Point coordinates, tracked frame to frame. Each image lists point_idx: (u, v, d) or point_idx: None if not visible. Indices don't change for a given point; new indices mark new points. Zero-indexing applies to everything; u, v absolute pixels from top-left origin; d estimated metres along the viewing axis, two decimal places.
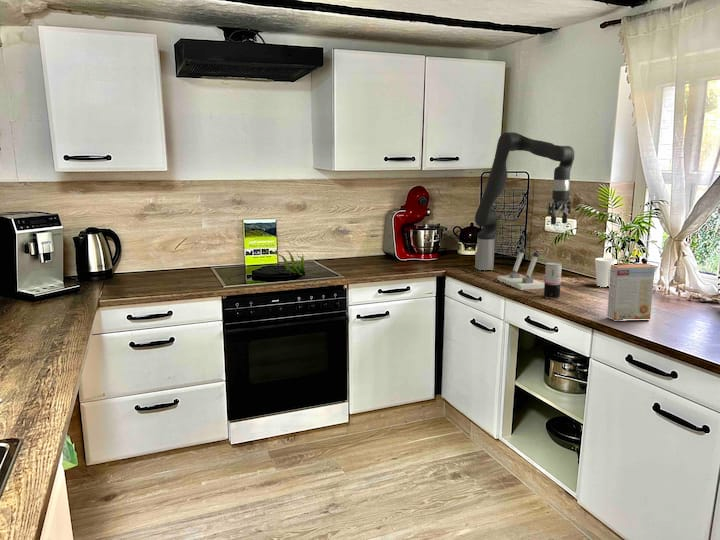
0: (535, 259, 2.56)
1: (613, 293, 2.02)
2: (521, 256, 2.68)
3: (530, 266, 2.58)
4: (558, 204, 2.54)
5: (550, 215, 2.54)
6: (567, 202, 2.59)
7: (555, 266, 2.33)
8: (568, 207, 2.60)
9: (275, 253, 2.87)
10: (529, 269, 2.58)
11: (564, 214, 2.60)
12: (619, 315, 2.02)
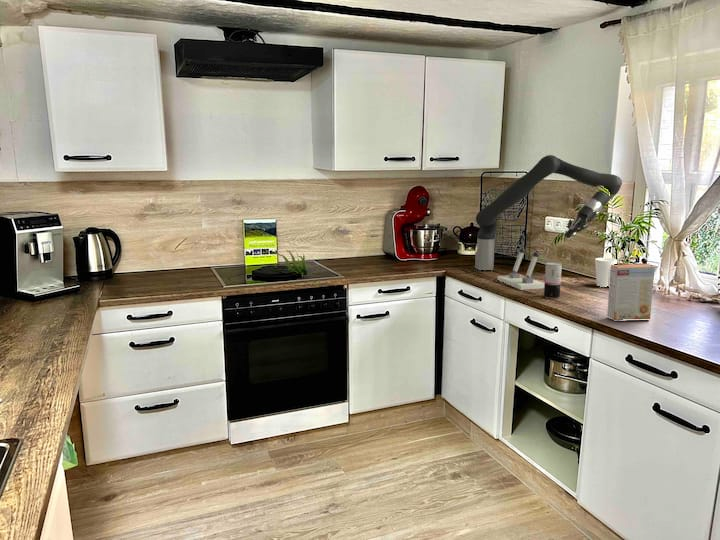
0: (535, 259, 2.56)
1: (613, 293, 2.02)
2: (521, 256, 2.68)
3: (530, 266, 2.58)
4: None
5: (575, 230, 2.57)
6: None
7: (555, 266, 2.33)
8: None
9: (276, 253, 2.88)
10: (529, 269, 2.58)
11: None
12: (619, 315, 2.02)
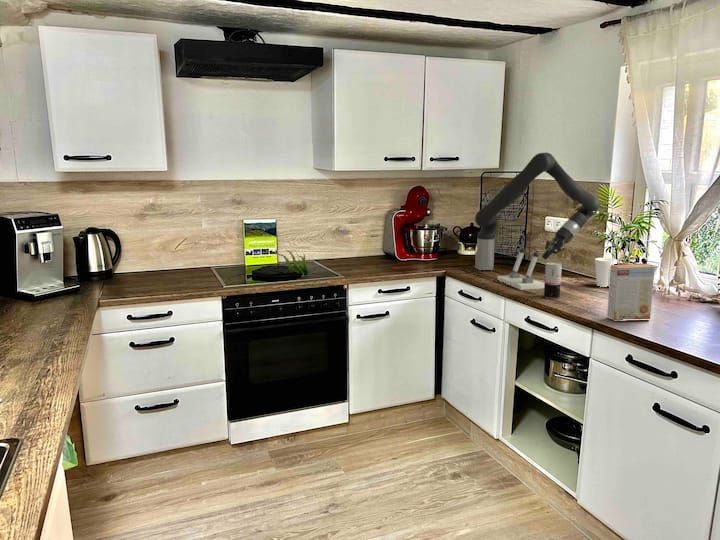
0: (535, 259, 2.56)
1: (613, 293, 2.02)
2: (521, 256, 2.68)
3: (530, 266, 2.58)
4: None
5: (552, 252, 2.56)
6: None
7: (555, 266, 2.33)
8: None
9: None
10: (529, 269, 2.58)
11: None
12: (619, 315, 2.02)
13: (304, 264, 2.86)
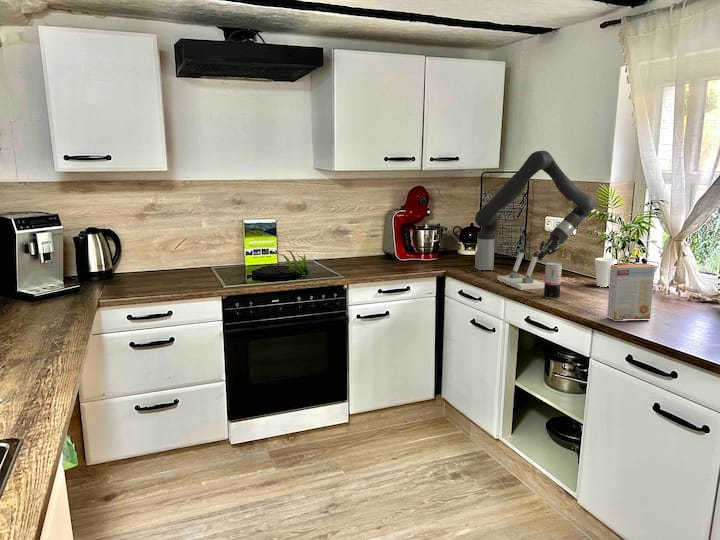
0: (535, 259, 2.56)
1: (613, 293, 2.02)
2: (521, 256, 2.68)
3: (530, 266, 2.58)
4: None
5: (547, 252, 2.56)
6: (546, 243, 2.63)
7: (555, 266, 2.33)
8: None
9: None
10: (529, 269, 2.58)
11: None
12: (619, 315, 2.02)
13: (305, 264, 2.86)
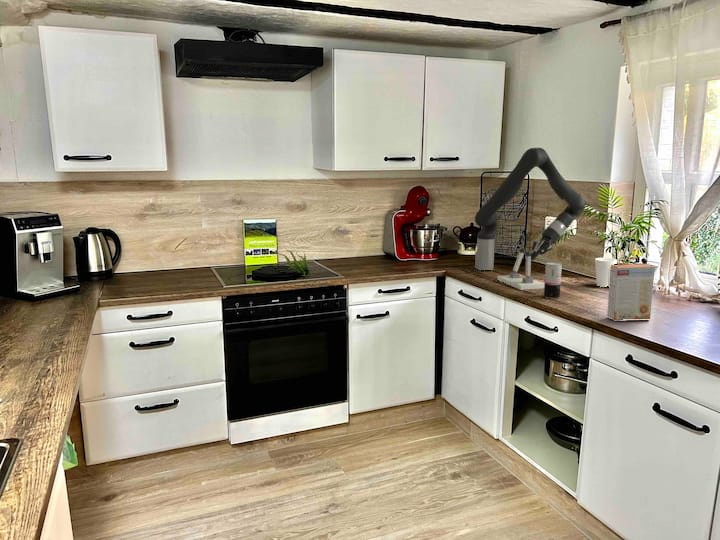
0: (529, 258, 2.56)
1: (613, 293, 2.02)
2: (521, 256, 2.68)
3: (526, 266, 2.57)
4: None
5: (539, 252, 2.54)
6: (538, 243, 2.62)
7: (555, 266, 2.33)
8: None
9: None
10: (526, 269, 2.57)
11: None
12: (619, 315, 2.02)
13: (305, 264, 2.87)
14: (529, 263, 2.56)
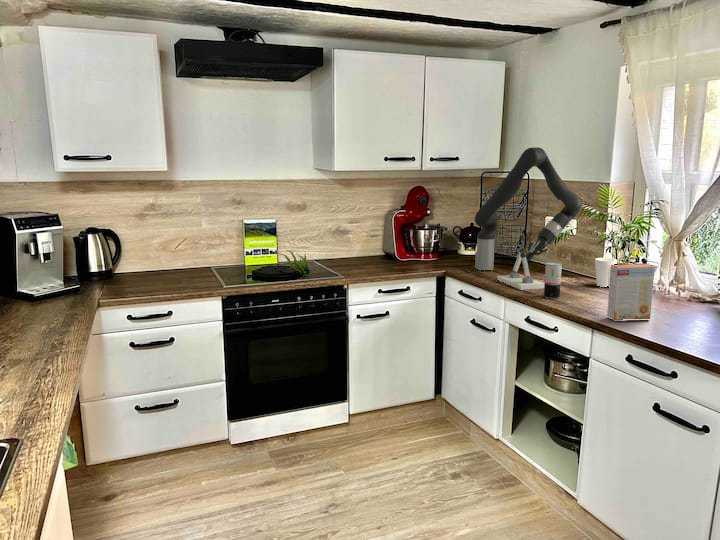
0: (525, 259, 2.55)
1: (613, 293, 2.02)
2: None
3: (524, 267, 2.57)
4: None
5: (535, 253, 2.54)
6: (534, 244, 2.61)
7: (555, 266, 2.33)
8: None
9: (277, 252, 2.89)
10: (525, 270, 2.57)
11: None
12: (619, 315, 2.02)
13: (306, 263, 2.88)
14: (526, 264, 2.56)
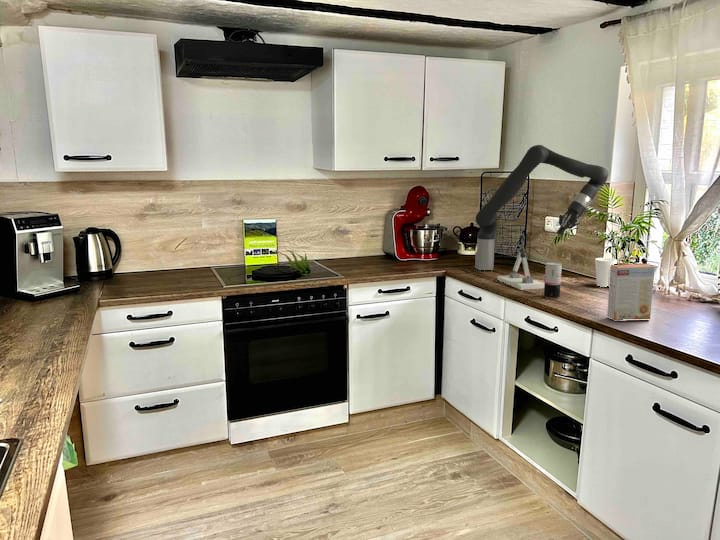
0: (525, 259, 2.55)
1: (613, 293, 2.02)
2: None
3: (524, 267, 2.57)
4: None
5: (567, 227, 2.60)
6: (564, 216, 2.67)
7: (555, 266, 2.33)
8: None
9: (278, 252, 2.90)
10: (525, 270, 2.57)
11: None
12: (619, 315, 2.02)
13: (306, 263, 2.89)
14: (526, 264, 2.56)
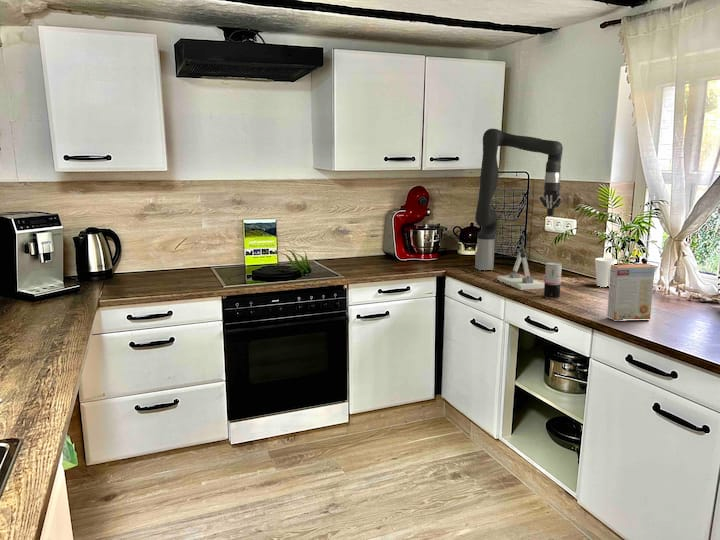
0: (525, 259, 2.55)
1: (613, 293, 2.02)
2: None
3: (524, 267, 2.57)
4: None
5: (555, 207, 2.75)
6: None
7: (555, 266, 2.33)
8: (545, 201, 2.80)
9: (279, 252, 2.91)
10: (525, 270, 2.57)
11: None
12: (619, 315, 2.02)
13: (307, 262, 2.90)
14: (526, 264, 2.56)
